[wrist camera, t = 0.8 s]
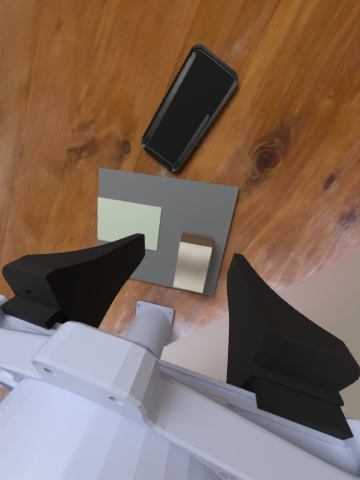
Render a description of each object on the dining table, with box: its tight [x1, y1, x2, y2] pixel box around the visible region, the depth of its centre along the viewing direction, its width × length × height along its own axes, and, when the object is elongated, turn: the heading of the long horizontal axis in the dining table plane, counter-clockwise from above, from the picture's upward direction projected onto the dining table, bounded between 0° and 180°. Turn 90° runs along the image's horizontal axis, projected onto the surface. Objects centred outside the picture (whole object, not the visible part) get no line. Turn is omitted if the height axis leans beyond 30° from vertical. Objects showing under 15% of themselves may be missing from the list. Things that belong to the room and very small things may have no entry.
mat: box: [98, 168, 239, 297], centre depth 28 cm, size 20×24×1 cm
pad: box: [98, 197, 162, 251], centre depth 28 cm, size 12×8×1 cm, turn 81°
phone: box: [141, 44, 238, 172], centre depth 23 cm, size 8×1×15 cm
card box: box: [173, 232, 214, 293], centre depth 26 cm, size 9×5×4 cm, turn 171°
